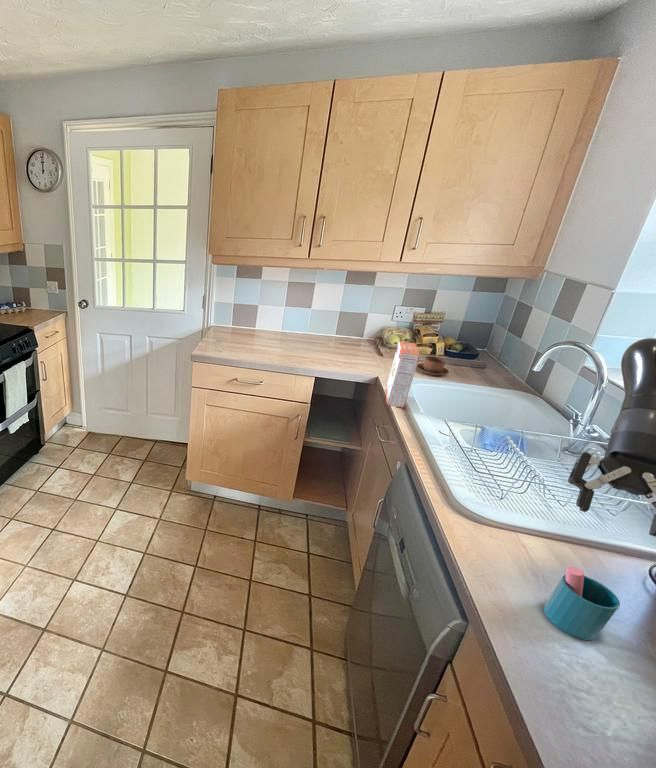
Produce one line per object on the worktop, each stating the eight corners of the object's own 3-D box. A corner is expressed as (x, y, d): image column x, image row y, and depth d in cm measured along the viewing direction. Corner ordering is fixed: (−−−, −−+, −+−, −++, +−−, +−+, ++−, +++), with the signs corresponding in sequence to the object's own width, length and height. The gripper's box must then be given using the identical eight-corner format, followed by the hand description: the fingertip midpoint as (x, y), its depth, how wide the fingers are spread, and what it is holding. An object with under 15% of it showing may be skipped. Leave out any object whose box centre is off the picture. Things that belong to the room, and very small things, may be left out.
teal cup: (587, 613, 76) (608, 582, 73) (604, 647, 70) (628, 615, 67) (538, 597, 79) (556, 567, 76) (551, 629, 73) (571, 597, 70)
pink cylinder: (576, 614, 75) (581, 568, 73) (581, 624, 73) (586, 576, 71) (560, 612, 76) (564, 565, 74) (564, 621, 74) (569, 574, 72)
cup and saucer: (419, 365, 189) (423, 352, 187) (450, 372, 182) (455, 359, 179) (412, 372, 182) (416, 358, 179) (443, 380, 174) (448, 366, 171)
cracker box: (383, 390, 163) (398, 340, 155) (401, 393, 161) (416, 343, 152) (385, 405, 152) (401, 351, 143) (404, 408, 150) (421, 354, 141)
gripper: (594, 418, 75) (569, 499, 72) (718, 448, 67) (695, 541, 64) (579, 432, 81) (555, 507, 78) (691, 461, 73) (668, 547, 70)
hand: (618, 522), depth 71 cm, fingers open, 8 cm apart
